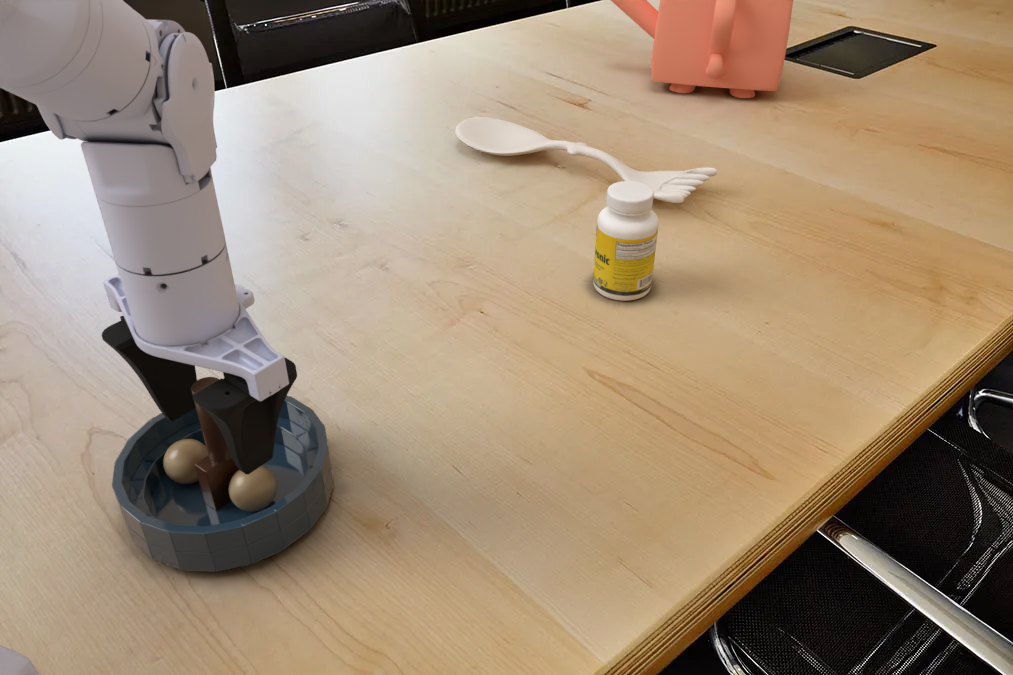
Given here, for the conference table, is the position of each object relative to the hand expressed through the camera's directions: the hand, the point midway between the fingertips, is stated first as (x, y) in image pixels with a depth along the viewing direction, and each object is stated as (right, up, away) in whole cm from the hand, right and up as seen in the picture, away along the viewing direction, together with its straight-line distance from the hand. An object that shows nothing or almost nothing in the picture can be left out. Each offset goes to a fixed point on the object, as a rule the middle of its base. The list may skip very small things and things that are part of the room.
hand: (218, 437), depth 54 cm
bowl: (0, -4, +3) cm, 6 cm away
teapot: (+45, +44, +72) cm, 96 cm away
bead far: (-3, -2, +3) cm, 5 cm away
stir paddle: (0, -4, +3) cm, 5 cm away
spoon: (+26, +26, +46) cm, 58 cm away
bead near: (+2, -3, +1) cm, 4 cm away
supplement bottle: (+29, +11, +25) cm, 40 cm away
